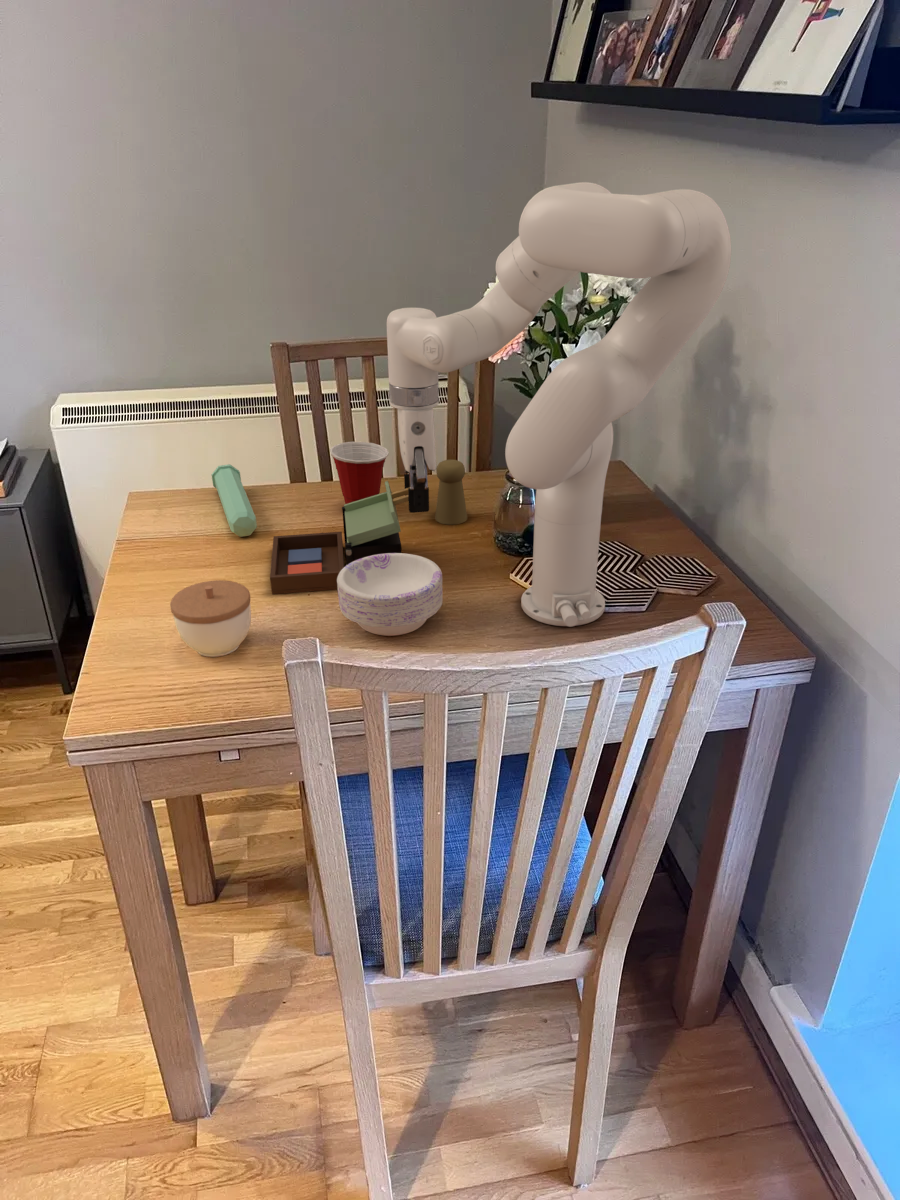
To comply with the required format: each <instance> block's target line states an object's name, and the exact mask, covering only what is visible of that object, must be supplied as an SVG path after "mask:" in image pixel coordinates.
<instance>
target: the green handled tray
mask: <svg viewBox="0 0 900 1200" xmlns="http://www.w3.org/2000/svg"><path fill="white" fill-rule="evenodd" d="M384 486H385V492H381V493H379V494H378V495H374V496H371V497H368V498H364V499H361V500H358V501H354V502H351V503H348V504H345V503H344V504H343V507H345V510H346V511H345V523H346V534H347V543H351V544H352V546H355V545H358V544H362V543H365V542H368V541H371V540H375V539H378V538H381V537H385V536H388V535H391V534H395V533H398V532H399V533H401V532H402V529H401V524H400V521H399V516H398V512H397V511H398V510H397V505H401V504H404V503H407V502H409V499H408V495H407V494H408V488H406V489H405V488H403V489H402V488H401V489H399V490H396V491H393V492H392V490H391V486H390V483H389V480H386V481H384ZM409 488H410V487H409ZM405 495H406V496H405Z"/></svg>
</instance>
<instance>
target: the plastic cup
mask: <svg viewBox="0 0 900 1200" xmlns="http://www.w3.org/2000/svg"><path fill="white" fill-rule="evenodd" d="M329 451H330V456H331V457H332V459H333V462H334V465H335V470H336V472H337V477H338V480H339V485H340V489H341V493H342V496H343V499H344V500H343V501H344V505H345V504H348V503H351V502H354V501H358V500H361V499H364V498H368V497H371V496H374V495H378V494H381V493H380V492H381V486H382V478H383V470H384V467H385V462H386V459H387V457H388V456H389V449H387V448H386V447H384V446H383V445H380V444H377V443H374V442H368V441H346V442H341V443H338V444H334V445H333V446H332V447H330V449H329Z"/></svg>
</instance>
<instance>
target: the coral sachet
mask: <svg viewBox="0 0 900 1200" xmlns="http://www.w3.org/2000/svg"><path fill="white" fill-rule="evenodd" d="M310 572H322V563H312V564H298V565H288V574H297V573H310Z"/></svg>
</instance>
